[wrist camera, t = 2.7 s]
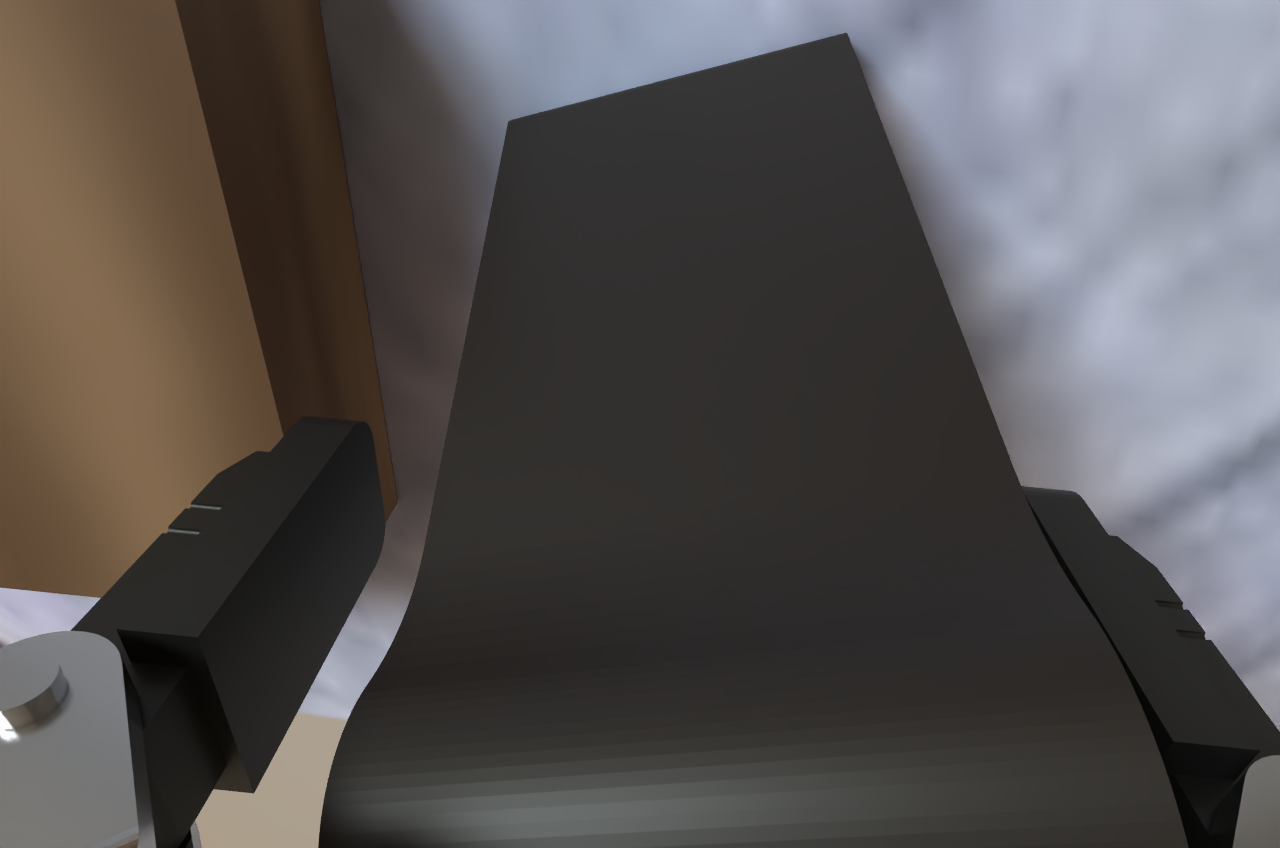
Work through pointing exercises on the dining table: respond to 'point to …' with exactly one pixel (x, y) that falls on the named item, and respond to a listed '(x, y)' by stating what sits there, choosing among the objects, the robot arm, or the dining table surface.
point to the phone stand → (733, 520)
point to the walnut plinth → (164, 268)
